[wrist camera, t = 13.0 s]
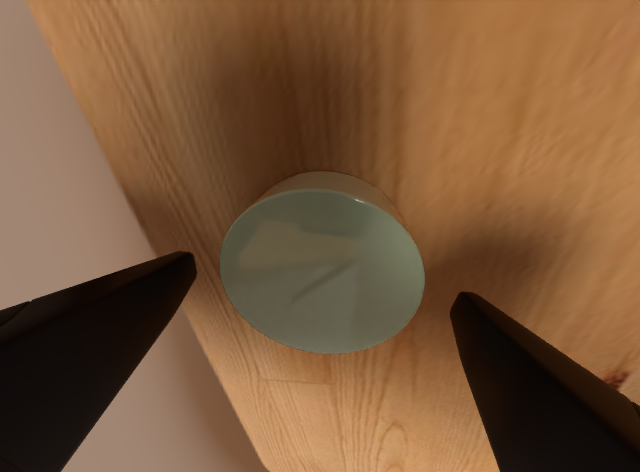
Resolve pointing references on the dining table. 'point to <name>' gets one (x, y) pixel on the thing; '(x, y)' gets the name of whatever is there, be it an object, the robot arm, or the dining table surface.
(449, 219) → the dining table surface
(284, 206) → the pale green disc
